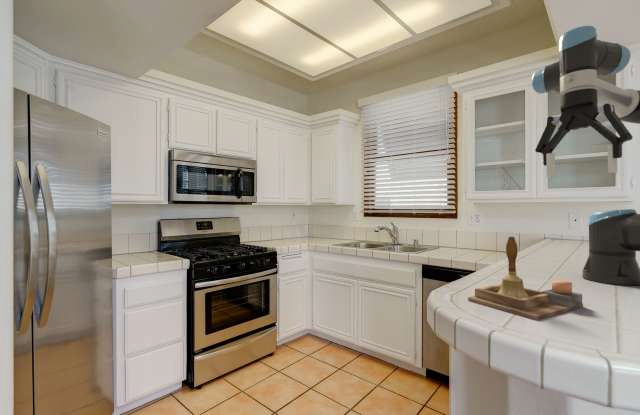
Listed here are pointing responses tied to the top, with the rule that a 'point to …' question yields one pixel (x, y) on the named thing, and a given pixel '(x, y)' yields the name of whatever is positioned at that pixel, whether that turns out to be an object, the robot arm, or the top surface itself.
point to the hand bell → (512, 274)
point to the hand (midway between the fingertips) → (579, 175)
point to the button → (562, 287)
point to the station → (528, 302)
